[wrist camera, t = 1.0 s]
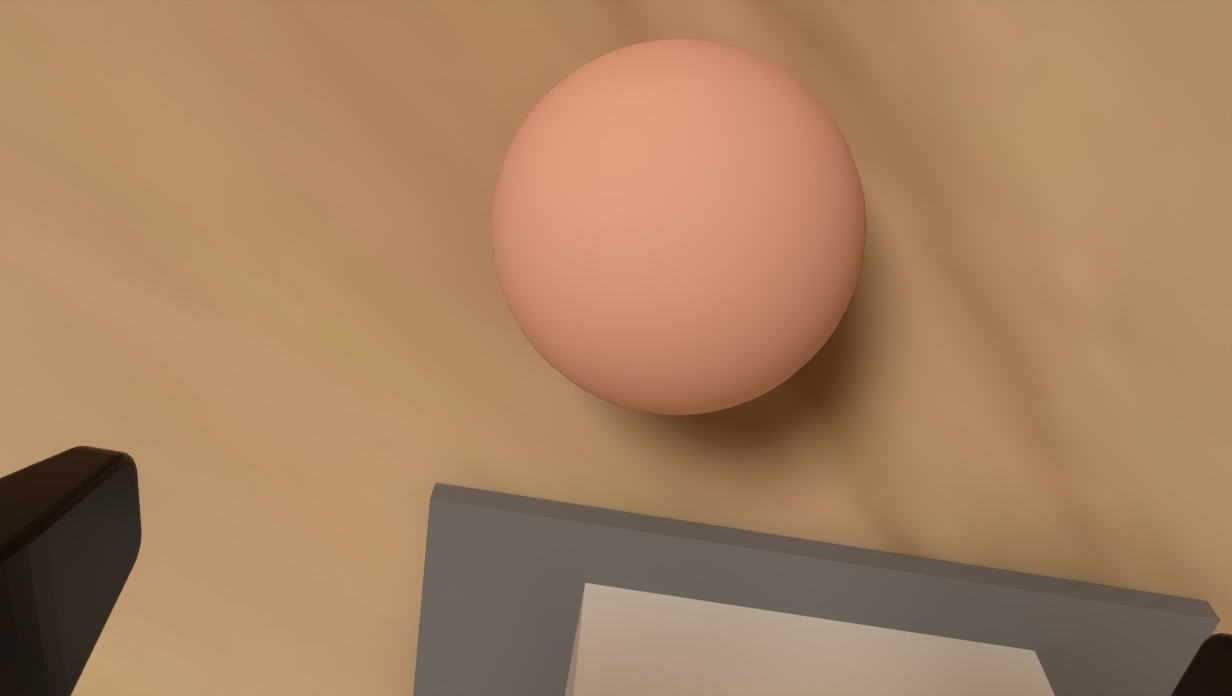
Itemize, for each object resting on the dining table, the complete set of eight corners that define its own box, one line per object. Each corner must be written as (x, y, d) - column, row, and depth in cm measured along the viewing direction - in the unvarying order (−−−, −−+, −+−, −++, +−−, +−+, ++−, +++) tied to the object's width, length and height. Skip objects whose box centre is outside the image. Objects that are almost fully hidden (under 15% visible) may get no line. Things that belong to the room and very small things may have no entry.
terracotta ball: (872, 40, 18) (962, 132, 12) (792, 337, 20) (837, 517, 15) (537, -18, 17) (480, 51, 12) (502, 290, 20) (444, 457, 15)
